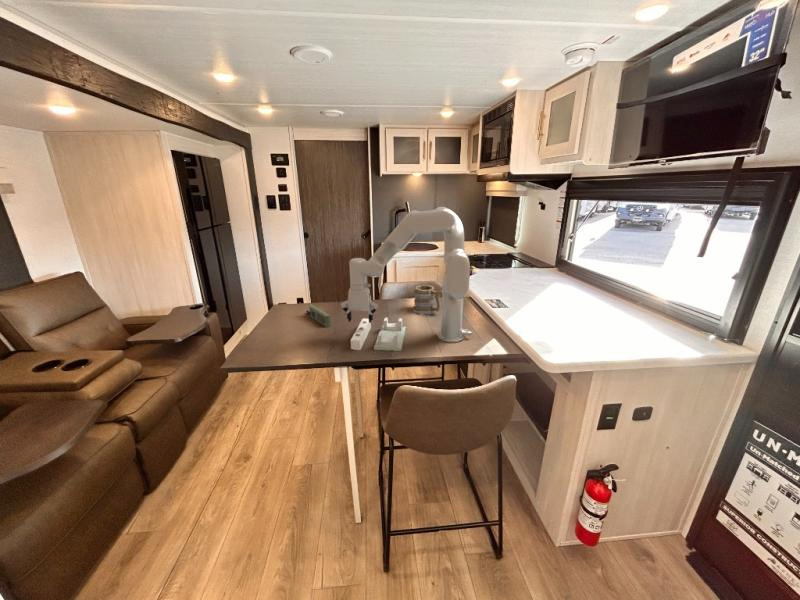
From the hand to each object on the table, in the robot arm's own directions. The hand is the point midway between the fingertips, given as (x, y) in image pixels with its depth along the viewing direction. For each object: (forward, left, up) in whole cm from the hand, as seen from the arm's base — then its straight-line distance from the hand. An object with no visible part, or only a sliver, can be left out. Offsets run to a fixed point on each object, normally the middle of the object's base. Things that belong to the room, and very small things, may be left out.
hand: (360, 321), depth 145 cm
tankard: (-31, -35, -9) cm, 48 cm away
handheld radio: (+28, -19, -9) cm, 35 cm away
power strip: (0, 0, -9) cm, 9 cm away
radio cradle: (-14, 0, -9) cm, 17 cm away
